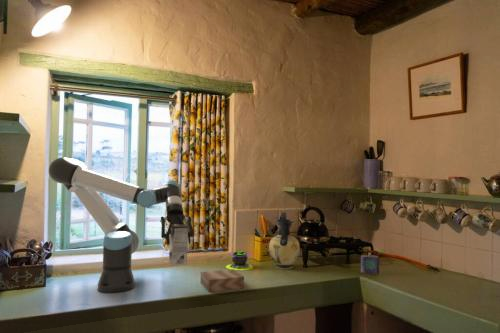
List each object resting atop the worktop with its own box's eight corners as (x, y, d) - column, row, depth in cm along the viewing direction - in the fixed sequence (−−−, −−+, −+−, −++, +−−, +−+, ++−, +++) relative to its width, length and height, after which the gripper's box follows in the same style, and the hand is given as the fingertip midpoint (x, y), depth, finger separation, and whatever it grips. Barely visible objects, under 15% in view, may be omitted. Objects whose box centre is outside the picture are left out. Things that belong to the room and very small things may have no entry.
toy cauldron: (235, 262, 205) (236, 243, 205) (258, 266, 197) (258, 246, 197) (220, 267, 192) (220, 247, 192) (243, 272, 184) (244, 250, 185)
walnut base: (208, 292, 149) (208, 280, 150) (200, 283, 162) (200, 272, 163) (243, 288, 155) (244, 276, 156) (233, 279, 168) (233, 269, 169)
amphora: (267, 263, 204) (267, 211, 205) (296, 263, 205) (296, 211, 206) (270, 271, 186) (271, 213, 188) (302, 271, 187) (302, 214, 188)
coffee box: (168, 260, 155) (170, 223, 156) (183, 260, 157) (184, 223, 158) (171, 265, 146) (173, 226, 147) (186, 264, 149) (188, 226, 149)
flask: (361, 273, 185) (361, 252, 185) (360, 272, 188) (360, 251, 188) (379, 274, 183) (379, 253, 184) (378, 273, 186) (378, 252, 186)
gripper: (193, 213, 171) (200, 254, 155) (151, 213, 163) (154, 256, 148) (196, 202, 166) (204, 243, 150) (153, 202, 159) (157, 245, 143)
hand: (179, 249), depth 149 cm, fingers closed on coffee box, 6 cm apart
